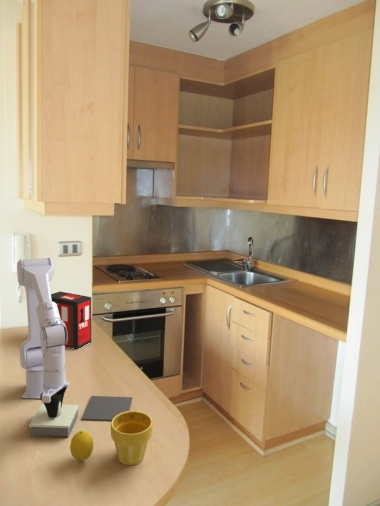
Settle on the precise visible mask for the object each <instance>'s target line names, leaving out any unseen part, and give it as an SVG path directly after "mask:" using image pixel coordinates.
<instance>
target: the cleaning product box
mask: <svg viewBox="0 0 380 506" xmlns="http://www.w3.org/2000/svg"><path fill="white" fill-rule="evenodd" d="M51 299H52V301H53V302H55V303H56V304H57V307H58V311H59V315H60V318H61V320H63V323H64V324H65V326H66V329H67V335H68V341H67V344H64V345H65V346H66V347H65V348H67V347H70V348H69V349H71V348H74V349H73V350H75V349H79V348H81V347H83V346H84V345H86V344H88V343H90V342H91V343H92V296H87V295H81V294H76V293H70V292H66V291H57V292H54V293H51ZM91 343H90V344H91ZM88 345H89V344H88ZM86 346H87V345H86ZM83 348H84V347H83ZM81 349H82V348H81ZM79 350H80V349H79Z"/></svg>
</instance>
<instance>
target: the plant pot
mask: <svg viewBox="0 0 380 506" xmlns="http://www.w3.org/2000/svg"><path fill="white" fill-rule="evenodd" d="M110 422H111V423H110V437H111V440H112V441H114V446H115V451H116V455H117V459H118V461H119V462H120V463H121V464H123V465H125V466H133V465H139V464H140V463H141V462H142V461H143V460H144V457H145V455H146V449H147V448H148V442H149V441H150V439H151V438H152V434H153V425H154V424H153V423H154V421H153V418H152V417H151V415H149V414H148V413H146V412H143V411H140V410H138V411H137V410H129V411H126V412H123V413H120V414H118V415H117V416H115V417H114V418H113V420H112V421H110Z"/></svg>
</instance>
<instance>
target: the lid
mask: <svg viewBox="0 0 380 506" xmlns="http://www.w3.org/2000/svg"><path fill="white" fill-rule="evenodd" d="M79 407H80V405H79V404H63V403H62V407H61V402H59V407H58V414H57V417H56V418H49V416H48V413H47V410H46V407H45V405H44V403H42V404H41V405H40V407H39V408H38V410H37V411H36V412H35V415H34V416H33V418H31V421H30V423H29V424H28V427H29V428H31V427H50V428H69V426H70V424H71V422H72V420H73V418H74V416H75V414H76V412H77V410H78V411H79Z"/></svg>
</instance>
